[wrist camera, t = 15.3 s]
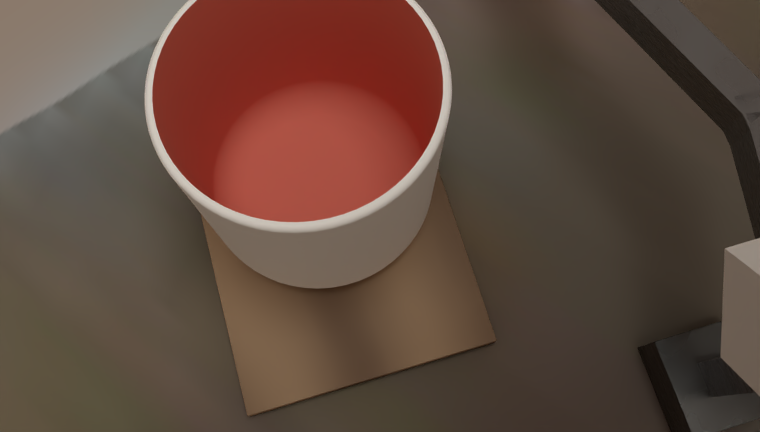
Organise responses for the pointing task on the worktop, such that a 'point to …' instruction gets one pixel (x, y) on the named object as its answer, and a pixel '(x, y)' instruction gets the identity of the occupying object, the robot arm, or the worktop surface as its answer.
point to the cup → (303, 128)
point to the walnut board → (351, 317)
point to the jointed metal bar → (756, 174)
